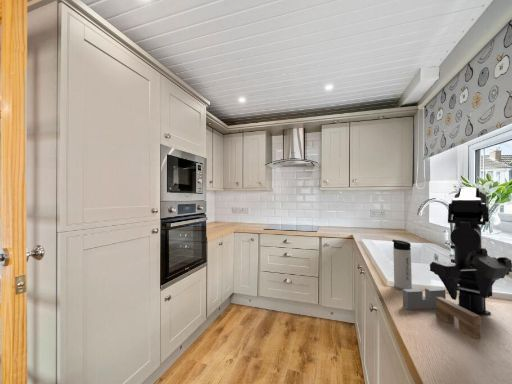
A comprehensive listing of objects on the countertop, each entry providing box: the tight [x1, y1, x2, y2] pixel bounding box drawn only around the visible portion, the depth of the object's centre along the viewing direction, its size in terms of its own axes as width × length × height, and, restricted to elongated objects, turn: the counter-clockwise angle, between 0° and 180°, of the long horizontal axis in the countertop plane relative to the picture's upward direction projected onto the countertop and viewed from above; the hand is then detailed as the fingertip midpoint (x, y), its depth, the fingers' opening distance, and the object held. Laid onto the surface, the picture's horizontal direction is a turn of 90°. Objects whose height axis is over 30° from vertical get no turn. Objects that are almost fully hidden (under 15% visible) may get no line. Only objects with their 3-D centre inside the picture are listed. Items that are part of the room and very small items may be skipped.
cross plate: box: [435, 297, 482, 340], centre depth 69 cm, size 2×12×6 cm, turn 5°
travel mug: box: [391, 239, 413, 292], centre depth 97 cm, size 6×7×20 cm
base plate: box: [402, 286, 447, 311], centre depth 81 cm, size 14×2×6 cm, turn 95°
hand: (469, 298), depth 65 cm, fingers open, 9 cm apart
